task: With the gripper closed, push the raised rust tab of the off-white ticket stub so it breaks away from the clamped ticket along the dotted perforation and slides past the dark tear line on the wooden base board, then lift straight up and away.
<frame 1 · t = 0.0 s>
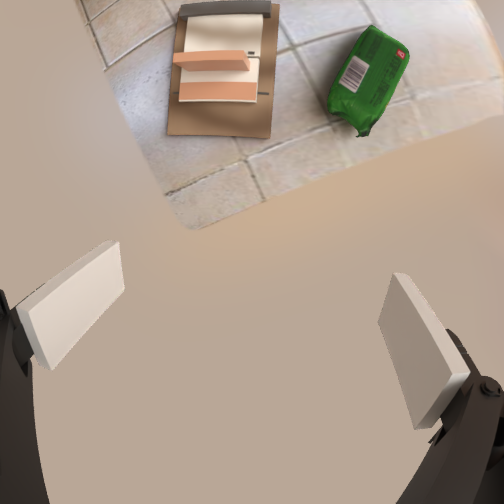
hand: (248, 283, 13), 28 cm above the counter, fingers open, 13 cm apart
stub: (213, 75, 30), point 5 cm above the counter, slide at 0.0 cm
wooden base board: (223, 66, 33), on the counter
snack package: (364, 80, 32), on the counter
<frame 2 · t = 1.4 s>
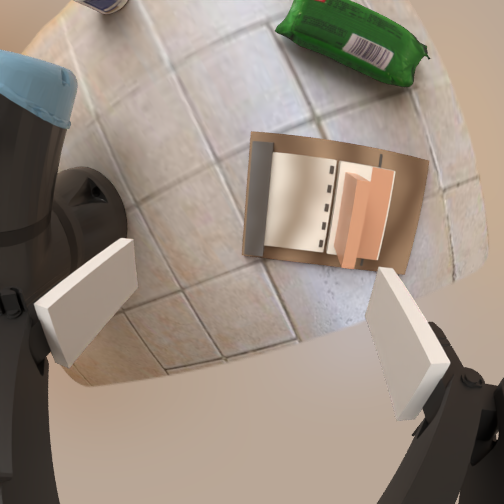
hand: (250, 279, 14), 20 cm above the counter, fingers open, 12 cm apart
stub: (366, 218, 27), point 5 cm above the counter, slide at 0.0 cm
wooden base board: (336, 204, 32), on the counter
snack package: (350, 43, 25), on the counter
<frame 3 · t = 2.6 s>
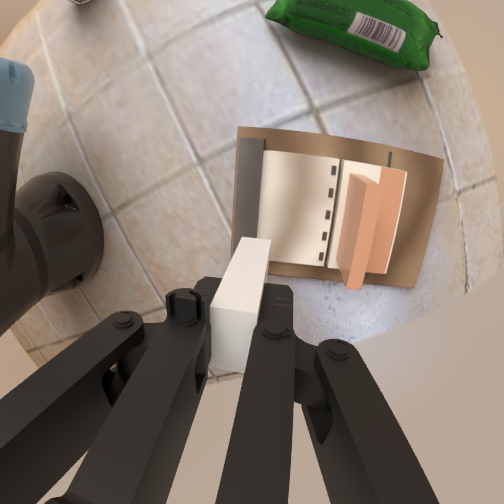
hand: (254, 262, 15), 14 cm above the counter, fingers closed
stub: (375, 228, 23), point 5 cm above the counter, slide at 0.0 cm
wooden base board: (338, 210, 27), on the counter
snack package: (352, 26, 20), on the counter
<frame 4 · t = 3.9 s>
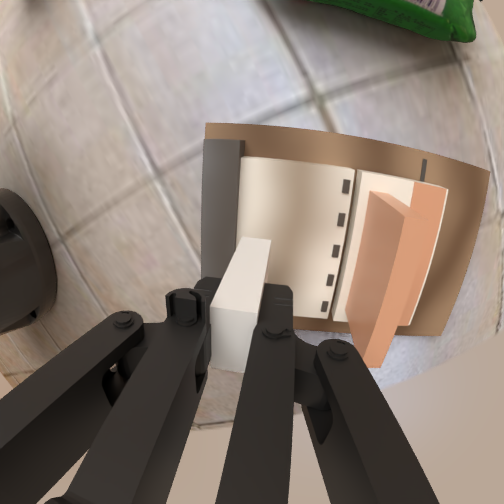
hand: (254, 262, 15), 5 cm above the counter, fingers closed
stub: (404, 274, 15), point 5 cm above the counter, slide at 0.0 cm
wooden base board: (350, 241, 19), on the counter
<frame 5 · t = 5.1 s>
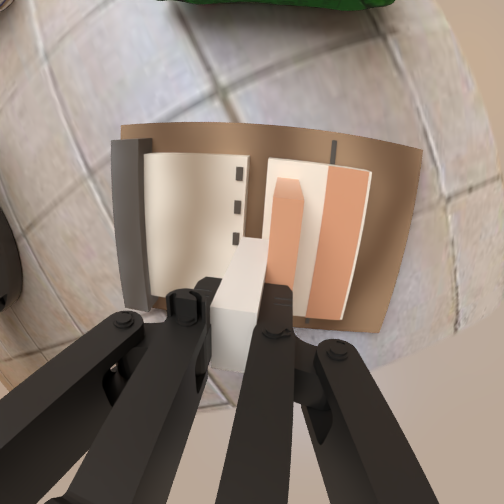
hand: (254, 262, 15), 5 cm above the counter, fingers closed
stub: (313, 262, 16), point 5 cm above the counter, slide at 0.8 cm, touching gripper
wooden base board: (261, 229, 20), on the counter
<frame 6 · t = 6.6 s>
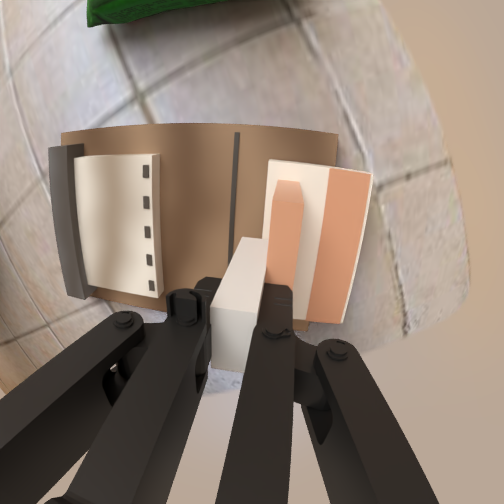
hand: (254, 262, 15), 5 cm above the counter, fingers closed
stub: (314, 266, 15), point 5 cm above the counter, slide at 6.7 cm, touching gripper
wooden base board: (178, 223, 20), on the counter
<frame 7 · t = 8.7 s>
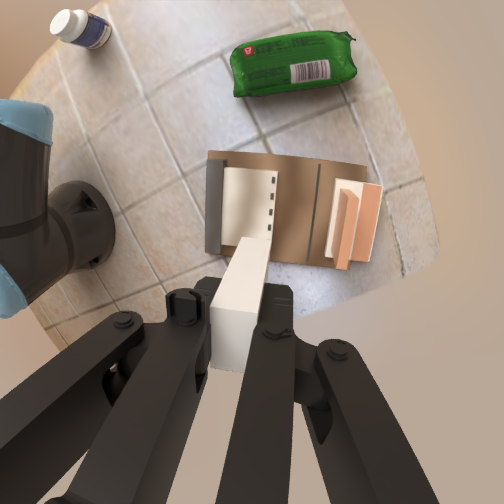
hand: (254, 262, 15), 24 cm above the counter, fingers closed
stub: (357, 227, 33), point 5 cm above the counter, slide at 6.7 cm
pill bottle: (99, 35, 31), on the counter
wooden base board: (282, 209, 38), on the counter
snack package: (293, 67, 31), on the counter
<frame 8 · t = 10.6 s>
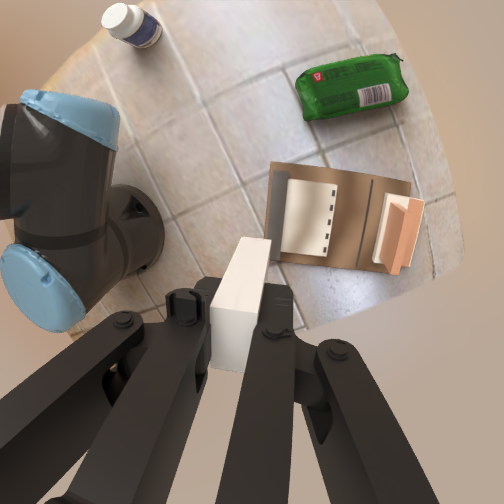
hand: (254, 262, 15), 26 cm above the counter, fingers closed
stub: (405, 237, 35), point 5 cm above the counter, slide at 6.7 cm
pill bottle: (147, 34, 33), on the counter
wooden base board: (336, 218, 40), on the counter
snack package: (350, 88, 33), on the counter
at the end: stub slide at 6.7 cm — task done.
